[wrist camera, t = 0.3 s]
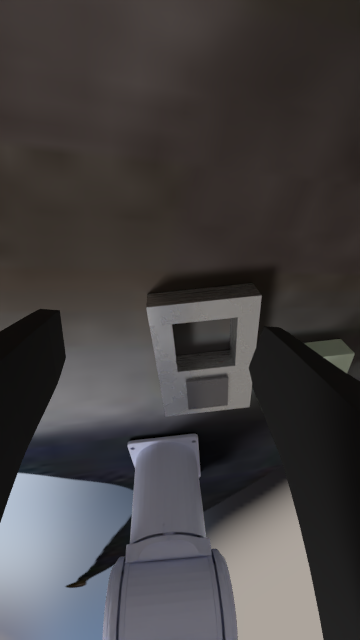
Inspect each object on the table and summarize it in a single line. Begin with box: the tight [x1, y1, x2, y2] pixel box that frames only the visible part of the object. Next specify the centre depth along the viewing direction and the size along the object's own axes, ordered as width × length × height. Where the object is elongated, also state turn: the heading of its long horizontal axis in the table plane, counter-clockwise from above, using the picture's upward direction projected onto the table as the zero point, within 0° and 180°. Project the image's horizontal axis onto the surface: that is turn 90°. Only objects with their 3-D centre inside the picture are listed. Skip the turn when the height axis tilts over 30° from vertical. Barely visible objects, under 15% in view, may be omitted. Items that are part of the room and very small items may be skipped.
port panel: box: [146, 283, 262, 416], centre depth 22 cm, size 12×8×2 cm, turn 5°
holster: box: [257, 339, 355, 405], centre depth 24 cm, size 7×7×2 cm
